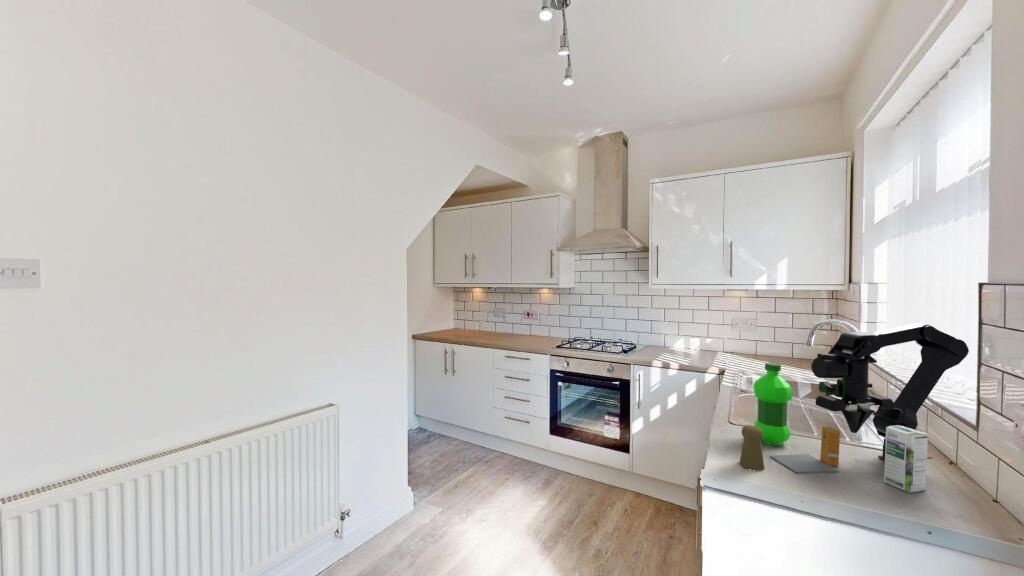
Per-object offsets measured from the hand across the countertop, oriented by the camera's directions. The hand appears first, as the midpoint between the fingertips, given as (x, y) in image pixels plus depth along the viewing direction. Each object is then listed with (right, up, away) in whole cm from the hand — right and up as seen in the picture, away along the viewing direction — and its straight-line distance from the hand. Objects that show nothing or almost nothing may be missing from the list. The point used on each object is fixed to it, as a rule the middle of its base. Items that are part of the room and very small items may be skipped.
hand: (853, 432), depth 113 cm
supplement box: (-7, -9, 0) cm, 11 cm away
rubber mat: (-15, -9, -1) cm, 17 cm away
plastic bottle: (-14, -8, +14) cm, 22 cm away
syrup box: (+2, -9, -13) cm, 16 cm away
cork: (-30, -9, -2) cm, 31 cm away
